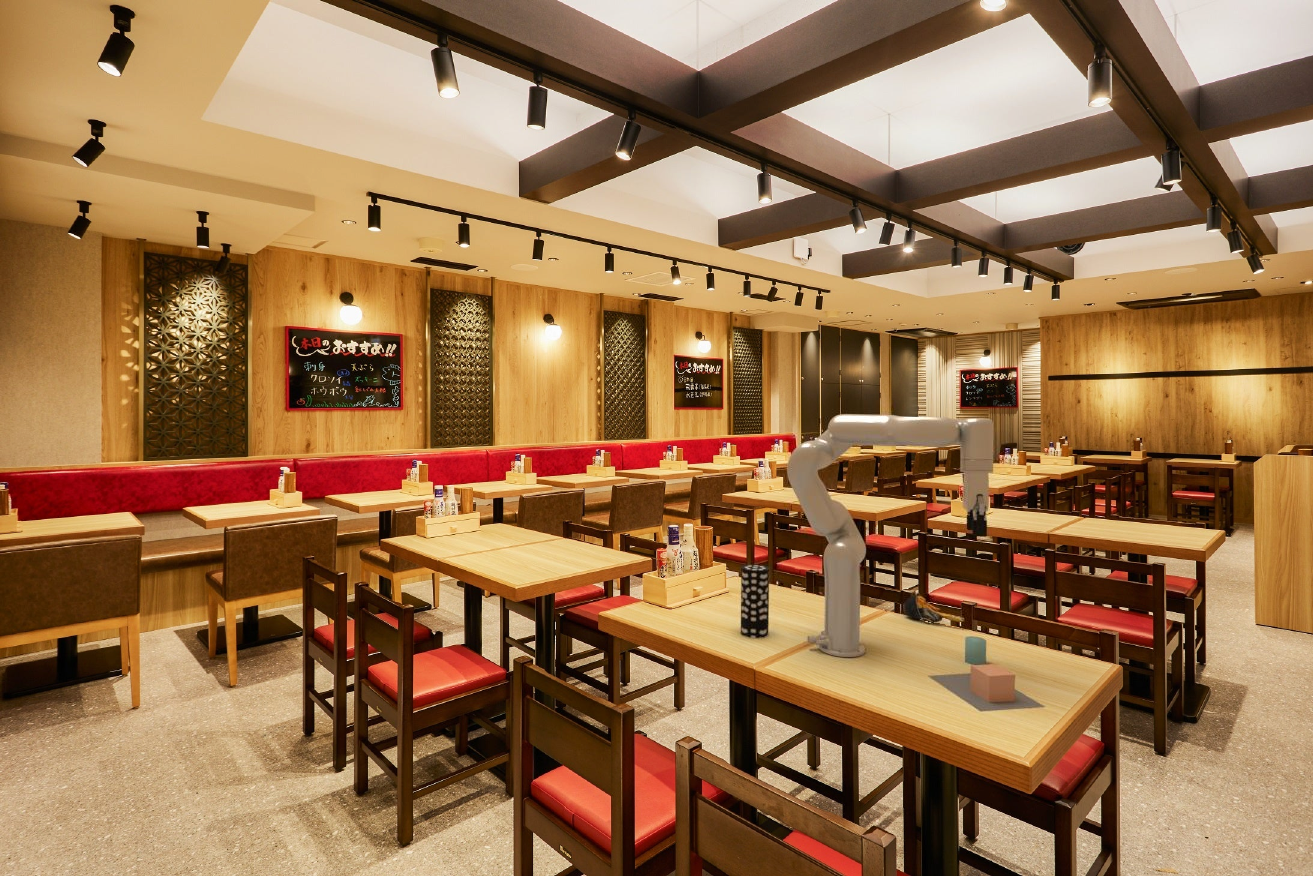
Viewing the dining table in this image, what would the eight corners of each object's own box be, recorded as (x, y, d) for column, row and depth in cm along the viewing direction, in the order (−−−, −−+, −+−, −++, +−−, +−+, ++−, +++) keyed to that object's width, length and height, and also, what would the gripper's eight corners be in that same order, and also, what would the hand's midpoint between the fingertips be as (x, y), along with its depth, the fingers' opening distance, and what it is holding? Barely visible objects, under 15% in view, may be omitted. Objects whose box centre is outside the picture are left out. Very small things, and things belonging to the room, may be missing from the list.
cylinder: (972, 669, 167) (973, 643, 167) (960, 662, 172) (961, 636, 172) (990, 668, 168) (990, 642, 168) (977, 661, 173) (978, 635, 173)
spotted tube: (739, 636, 192) (739, 569, 191) (742, 628, 200) (742, 564, 199) (767, 639, 190) (768, 571, 189) (769, 630, 198) (770, 565, 197)
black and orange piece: (906, 598, 219) (961, 589, 209) (912, 631, 213) (969, 624, 203) (896, 593, 212) (952, 583, 202) (902, 627, 207) (961, 619, 197)
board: (980, 715, 141) (980, 711, 141) (927, 679, 160) (927, 675, 160) (1045, 711, 143) (1045, 706, 143) (985, 676, 163) (986, 672, 163)
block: (988, 702, 145) (989, 676, 145) (970, 690, 152) (970, 665, 151) (1014, 700, 146) (1015, 674, 146) (995, 689, 153) (995, 664, 152)
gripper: (956, 464, 174) (955, 527, 174) (965, 468, 158) (965, 538, 158) (987, 464, 172) (986, 528, 172) (999, 468, 155) (999, 539, 155)
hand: (976, 533), depth 165 cm, fingers open, 9 cm apart
